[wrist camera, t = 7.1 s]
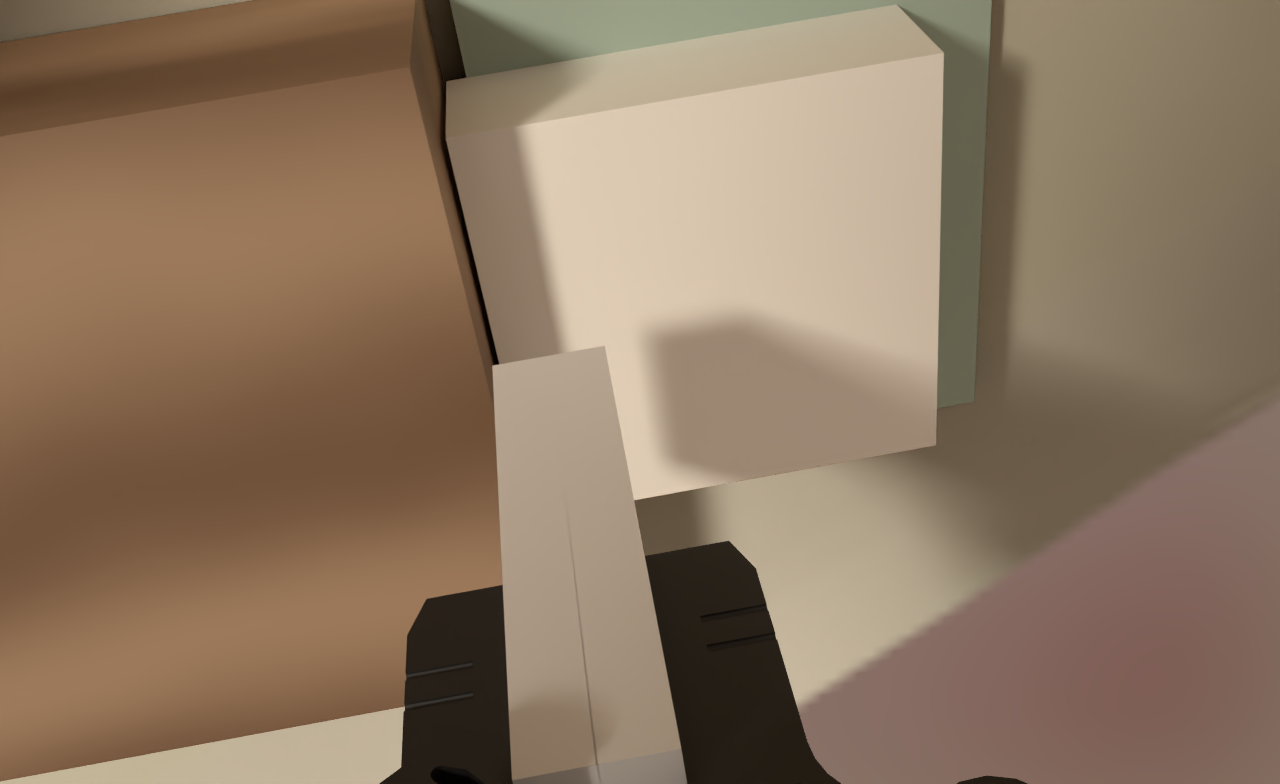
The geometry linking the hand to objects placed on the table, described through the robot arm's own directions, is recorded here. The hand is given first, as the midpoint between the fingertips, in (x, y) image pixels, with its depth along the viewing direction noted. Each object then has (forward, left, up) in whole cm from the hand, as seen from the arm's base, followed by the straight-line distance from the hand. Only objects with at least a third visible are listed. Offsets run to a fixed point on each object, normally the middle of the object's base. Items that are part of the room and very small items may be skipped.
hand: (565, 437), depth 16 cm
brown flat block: (+1, -6, -5) cm, 8 cm away
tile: (0, +3, -5) cm, 5 cm away
